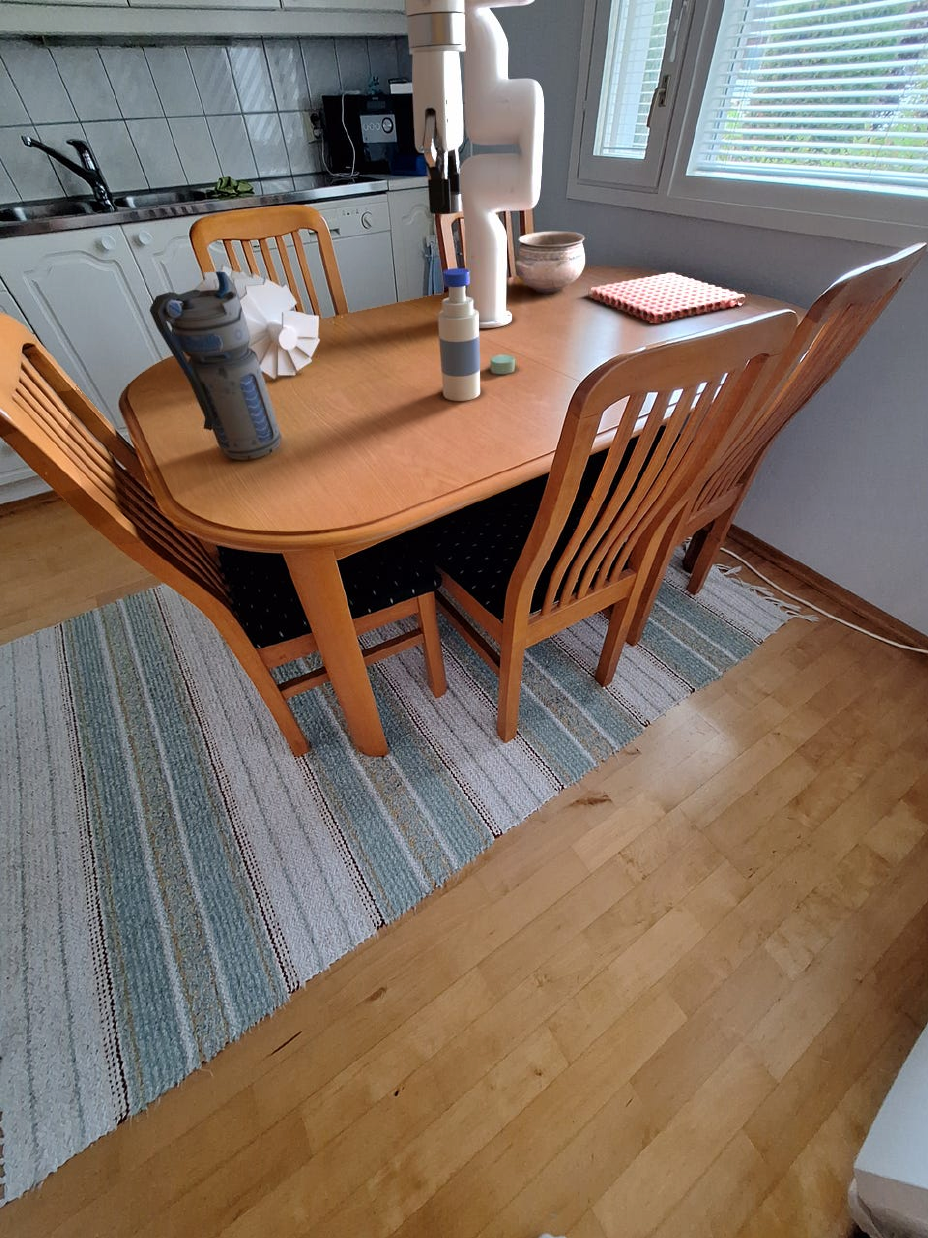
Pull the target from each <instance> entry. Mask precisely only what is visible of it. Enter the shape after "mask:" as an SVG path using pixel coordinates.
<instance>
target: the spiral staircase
mask: <svg viewBox="0 0 928 1238" xmlns="http://www.w3.org/2000/svg"><path fill="white" fill-rule="evenodd" d="M218 271H221V272H225V273H226V274H227V276H228V277H229V278H230V280H231V281H232V283H233V284H234V285H235V287H236V290H237V294H238V297H239V300H240V303H241V307H242V310H243V313H244V316H245V319H246V323H247V326H248V329H249V333H250V336H251V338H250V342H249V345H248V347H249V348H250V349H252V350H253V351H255V353H256V355H257V358H258V362H259V365H260V368H261V371H262V373H264V374H266V375H268V376H269V377H270V378H272V379H273V380H275V379H276V377H277V376H296V371H297V372H299V371H300V370H301V369H303V368H304V367H305V366H307V365H309V364H310V363H312V362H313V360H312V359H311V358H312V357H313V356H314V353H315V352H316V349H317V348H318V345H319V344H320V341H321V339H320V338H319V326H320V325H319V323H320V316H319V315H317V314H315V315H314V314H305V313H304V312H301V311H300V312H299V311H295V310H292V309H293V308H294V307H295V306H296V305H297V304H298V302H297V300H296V298H295V296H294V295H293V294H292V292H291V290H290V289H289V287H288V286H287V284H286V283H283V285H282V286H280V285H279V284H277V283H276V282H275V281H274V280H270V279H268V278H267V277H264V278H263V277H261V276H259V275H258V274H256V273H255V272H252V273H250V275H249V276H248V275H247V274H246V273H245V272H244V270H242V269H241V270H240V271H235V270H234V269H232V268H230V267H228V266H226V265H224V264H221V267H220V270H213V271H205V272H203V273H202V275H203V278H204V279H203V280H202V281H201V282H200V283H199V284H198V285H197V286H196V287H195V288H194V289H193V290H199V291H206V290H218V289H219V281H218V277H217V275H216V273H215V272H218Z"/></svg>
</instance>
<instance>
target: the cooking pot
mask: <svg viewBox="0 0 928 1238" xmlns="http://www.w3.org/2000/svg"><path fill="white" fill-rule="evenodd" d="M584 240H585V236H584V235H583V234H581V233H578V232H574V231H573V232H571V231H562V230H561V231H560V230H558V231H557V230H556V231H555V230H553V231H552V230H550V231H538V232H537V231H536V232H531V233H527V234H524V235H521V236H519V237H518V242H519V246H518V249H517V252H516V256H515V261H514V262H515V263H514V267H515V271H516V274H517V276H518V277H519V279H520V280H521V281H522V282H523V283H524V284H526V285H527V286H528V287H529V288H531V289H533V290H534V291H535V292H536V293H539V294H543V295H544V294H545V295H546V294H547V295H549V294H550V295H551V294H556V293H559V292H560V291H561V290H563V289H565V288H566V287H568V286H569V285H570V284H572V283H574V282H575V281H576V280H577V279H579V277H580V276H581V274H582V272H583V270H584V268H585V264H586V254H585V249H584V245H583V241H584Z"/></svg>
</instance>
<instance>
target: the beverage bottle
mask: <svg viewBox="0 0 928 1238" xmlns="http://www.w3.org/2000/svg"><path fill="white" fill-rule="evenodd" d="M217 271H218V272H215V273H216V275H217V277H218V281H219V289H218V290H206V291H199V290H194V289H192V290H188V291H186V292H182V293H176V292H172V291H168V292H165V293H163V294H162V293H161V294H159V295H156V296H155V298H154V300H153V301H152V304H151V306H150V307H149V313H150V315H151V317H152V319H153V321H154V324H155V326H156V329H157V330H158V332H159V333H160V335H161V337H162V338H163V341H164V342H165V344H166V346H167V347H168V349H169V350H170V352H171V354H172V355H173V358H174V359H175V360H176V362H177V364H178V366H179V367H180V369H181V371H182V372H183V374H184V376H185V377H186V379H187V380H188V382H189V384H190V386H191V388H192V391H193V393H194V396H195V398H196V400H197V403H198V406H199V407H200V410H201V412H202V415H203V417H204V423H203V430H208V431H212V432H213V434H214V435H213V436H214V437H215V439H216V442H217V444H218V447H219V449H220V451H221V452H222V454H224V455H225V456H226V457H228V458H230V459H232V460H239V461H241V460H242V461H244V460H245V461H246V460H247V461H248V460H254V459H258V458H259V459H260V458H262V457H265V456H267V455H269V454H271V453H273V452H274V451H276V449H278V447H279V446H280V444H281V440H282V434H281V430H280V427H279V423H278V421H277V418H276V414H275V411H274V407H273V404H272V400H271V398H270V394H269V391H268V388H267V384H266V382H265V378H264V375H263V371H261V368H260V365H259V362H258V358H257V355H256V353H255V351H253V350H252V349H250V348H249V347H248V345H249V342H250V338H251V336H250V333H249V329H248V326H247V323H246V319H245V316H244V313H243V310H242V307H241V303H240V300H239V297H238V294H237V290H236V287H235V285H234V284H233V283H232V281H231V280H230V278H229V277H228V276H227V274H226V273H225V272H221V271H220V270H217ZM170 327H171V329H170ZM186 356H187V357H188V358H189V359H188V358H187V357H186Z"/></svg>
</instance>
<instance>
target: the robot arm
mask: <svg viewBox="0 0 928 1238" xmlns="http://www.w3.org/2000/svg"><path fill="white" fill-rule="evenodd" d="M534 1H535V0H405V1H404V2H405V12H406V14H405V15H406V28H407V39H408V51H409V55H412V64H411V80H412V81H411V86H412V87H411V88H412V112H413V130H414V133H413V134H414V147H415V149H416V151H417V152H418V153H420V154H423V155H424V158H425V165H426V177H427V188H428V203H430V206H429V213H430V212H431V213H430V214H432V213H450V212H451V198H450V191H454V192H460V193H461V204H462V213H463V214H462V215H463V226H464V245H465V248H464V249H465V269H468V270H469V279H470V283H469V284H468V285H466V297H470V298H472V299H473V309H475V310H477V311H478V313H479V329H492V328H493V329H494V328H499V327H503V326H505V325H508V324H509V323H511V322H512V320H513V315H512V313H511V312H510V311H509V310H507V248H508V247H507V246H508V245H507V240H508V237H507V231H506V229H505V227H504V225H503V223H502V221H501V220H500V218H499V217H498V215H497V214H496V213H497V212H509V211H510V212H512V211H513V212H517V211H528V210H529V211H530V210H533V208H535V207H536V206H537V204H538V201H539V199H540V194H541V185H542V183H541V182H542V168H543V167H542V165H543V144H544V143H543V142H544V124H545V122H544V121H545V114H544V113H545V102H544V93H543V89H542V86H541V85H540V83H539V82H538V81H537V80H535V79H534V78H533V79H532V78H513V79H510V78H509V76H508V64H509V63H508V61H509V45H508V39H507V37H506V34H505V32H504V30H503V28H502V26H501V24H500V22H499V21H498V19H497V18H496V15H495V14H494V13H493V12H492V10H491V8H505V7H519V6H526V5H530V4H532V3H533V2H534ZM462 52H463V65H464V75H463V76H464V77H463V78H464V79H463V81H464V106H463V91H462V76H461V74H462V71H461V62H460V61H461V59H460V53H462ZM463 107H464V109H463ZM463 112H464V113H463ZM464 120H465V121H464ZM464 122H465V123H464ZM464 124H465V132H466V135H467V139H468V140H469V141H470V142H471V143H472V144H475V145H478V146H502V145H504V146H505V145H517V146H519V149H520V152H512V153H511V152H509V153H502V152H499V153H497V152H496V153H479V154H474V155H471V156H469V157H467V158H466V159H465V160H464V161H463V162H462V163H461V165H460V159H459V158H460V157H459V155H460V153H459V148H460V147H461V145H462V144H463V141H464ZM436 148H437V149H436Z"/></svg>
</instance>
